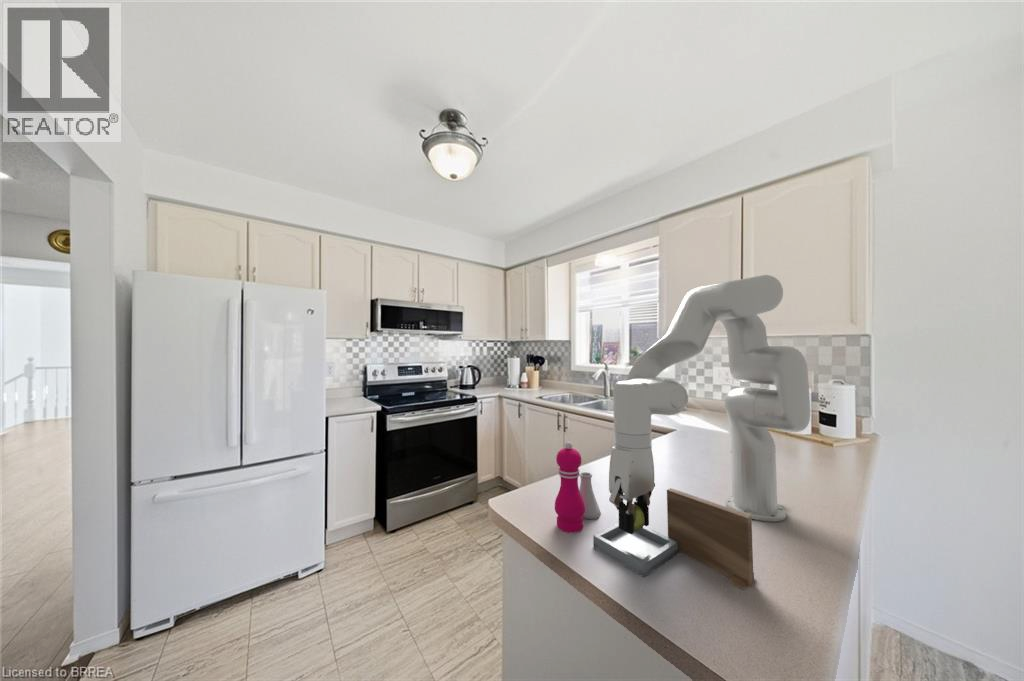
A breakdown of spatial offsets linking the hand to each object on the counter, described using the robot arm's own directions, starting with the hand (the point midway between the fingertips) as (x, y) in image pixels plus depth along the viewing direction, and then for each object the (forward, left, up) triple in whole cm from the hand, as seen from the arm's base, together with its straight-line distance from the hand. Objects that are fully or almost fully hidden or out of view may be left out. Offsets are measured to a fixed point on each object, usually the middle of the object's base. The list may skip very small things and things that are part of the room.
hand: (633, 526), depth 70 cm
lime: (0, 0, -1) cm, 1 cm away
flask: (-4, -17, -5) cm, 18 cm away
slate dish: (0, 0, -5) cm, 5 cm away
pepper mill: (+4, -15, -5) cm, 16 cm away
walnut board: (-8, +11, -5) cm, 14 cm away
